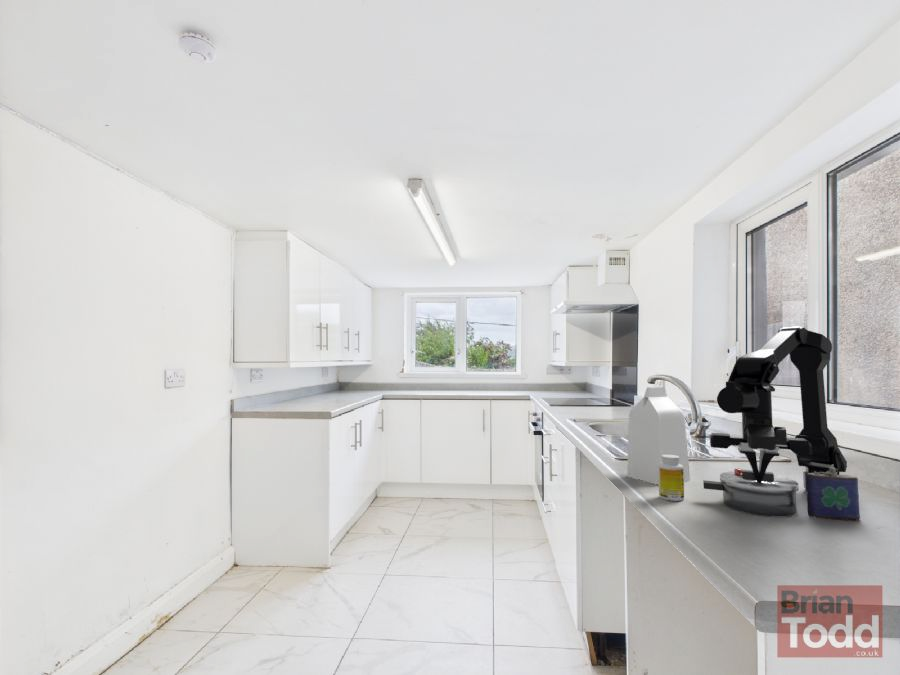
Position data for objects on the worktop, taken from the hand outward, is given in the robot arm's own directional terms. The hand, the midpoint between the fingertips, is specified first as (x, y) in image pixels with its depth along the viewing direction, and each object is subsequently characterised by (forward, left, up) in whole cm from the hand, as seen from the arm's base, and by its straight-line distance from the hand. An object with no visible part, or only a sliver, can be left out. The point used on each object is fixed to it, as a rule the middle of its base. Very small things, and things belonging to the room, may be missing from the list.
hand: (759, 482), depth 104 cm
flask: (-13, -2, -7) cm, 15 cm away
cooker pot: (+2, -4, -6) cm, 8 cm away
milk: (+22, -22, -7) cm, 32 cm away
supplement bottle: (+18, -2, -7) cm, 19 cm away
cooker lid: (0, -3, -1) cm, 4 cm away
